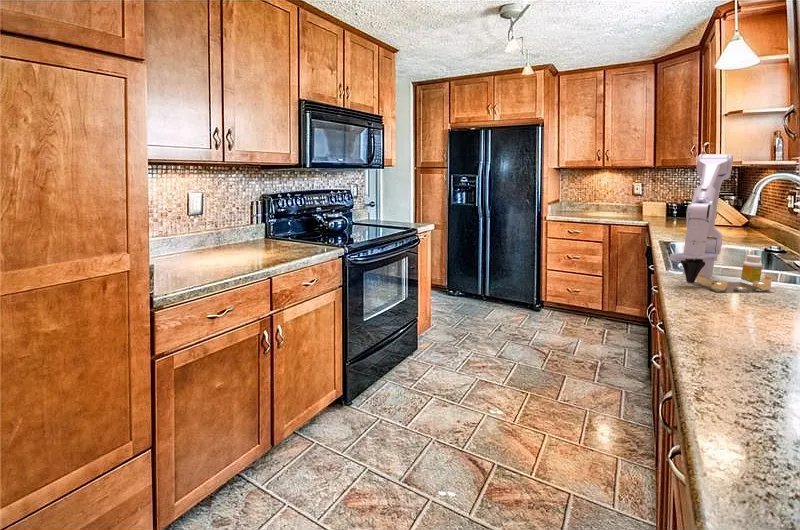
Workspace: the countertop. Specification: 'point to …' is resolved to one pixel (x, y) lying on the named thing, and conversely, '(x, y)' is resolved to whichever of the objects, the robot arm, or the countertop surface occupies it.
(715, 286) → the knob
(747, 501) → the countertop surface
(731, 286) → the grey metal plate
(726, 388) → the countertop surface
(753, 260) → the supplement bottle
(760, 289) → the knob
